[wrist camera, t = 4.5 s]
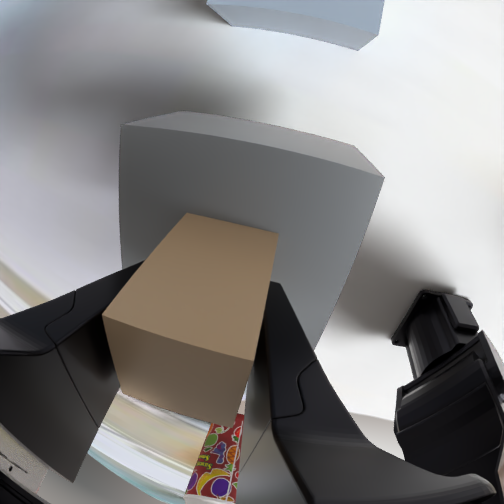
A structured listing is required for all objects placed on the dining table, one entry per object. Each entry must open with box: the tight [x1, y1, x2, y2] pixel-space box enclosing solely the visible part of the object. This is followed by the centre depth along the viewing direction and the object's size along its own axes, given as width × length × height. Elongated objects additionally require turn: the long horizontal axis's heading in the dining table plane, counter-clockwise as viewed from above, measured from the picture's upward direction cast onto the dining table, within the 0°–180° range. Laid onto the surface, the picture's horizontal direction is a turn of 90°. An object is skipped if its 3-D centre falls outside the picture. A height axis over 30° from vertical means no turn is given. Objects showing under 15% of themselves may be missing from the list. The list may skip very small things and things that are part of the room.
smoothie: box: [183, 413, 244, 504], centre depth 29 cm, size 8×8×20 cm
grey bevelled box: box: [102, 111, 385, 428], centre depth 10 cm, size 8×8×10 cm
